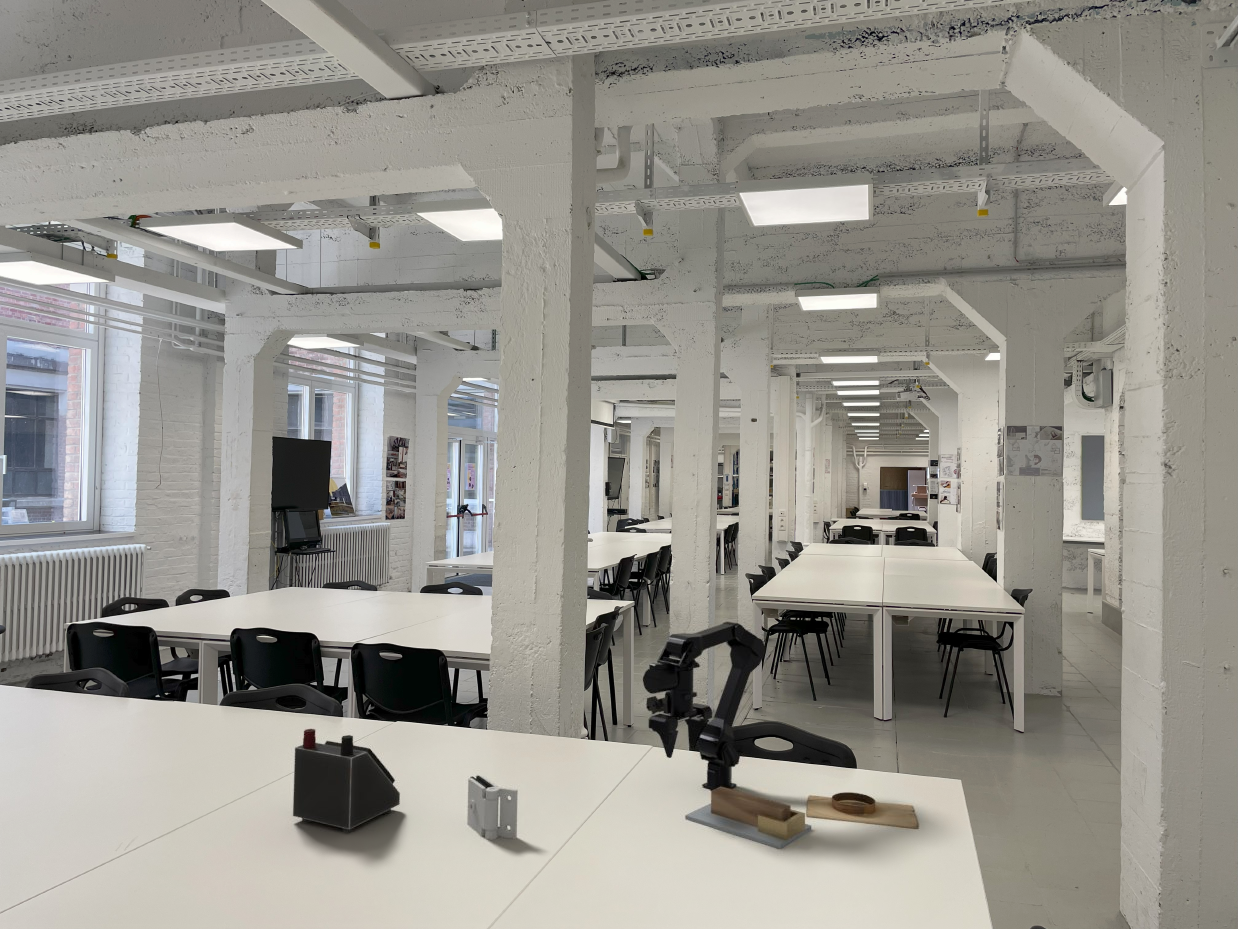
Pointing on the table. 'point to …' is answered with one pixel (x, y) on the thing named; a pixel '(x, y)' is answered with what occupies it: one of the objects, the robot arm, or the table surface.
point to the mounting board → (738, 827)
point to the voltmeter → (340, 783)
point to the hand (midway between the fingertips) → (680, 753)
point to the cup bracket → (782, 825)
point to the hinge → (491, 808)
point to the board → (861, 810)
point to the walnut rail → (745, 806)
